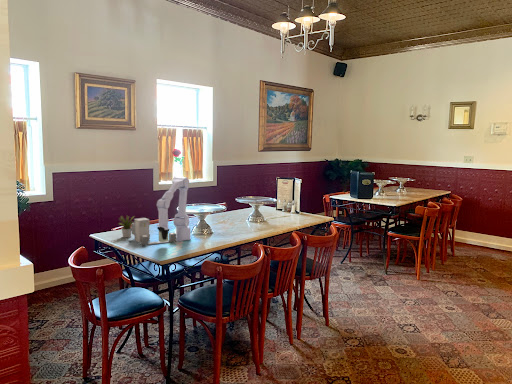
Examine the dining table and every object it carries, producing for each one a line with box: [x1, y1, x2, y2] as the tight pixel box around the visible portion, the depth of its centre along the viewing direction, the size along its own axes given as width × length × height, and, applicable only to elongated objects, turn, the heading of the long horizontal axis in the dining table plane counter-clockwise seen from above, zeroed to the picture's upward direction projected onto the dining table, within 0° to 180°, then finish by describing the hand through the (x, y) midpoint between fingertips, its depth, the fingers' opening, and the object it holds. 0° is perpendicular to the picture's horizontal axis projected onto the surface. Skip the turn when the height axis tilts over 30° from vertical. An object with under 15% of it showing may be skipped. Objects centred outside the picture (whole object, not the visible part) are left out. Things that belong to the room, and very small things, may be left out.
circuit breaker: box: [131, 217, 151, 244], centre depth 268 cm, size 8×14×15 cm, turn 41°
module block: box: [158, 230, 169, 242], centre depth 250 cm, size 5×5×6 cm
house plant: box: [118, 215, 135, 238], centre depth 274 cm, size 14×14×16 cm
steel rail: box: [139, 239, 178, 247], centre depth 260 cm, size 24×4×1 cm, turn 119°
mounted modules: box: [140, 232, 176, 246], centre depth 260 cm, size 22×5×5 cm, turn 119°
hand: (163, 238), depth 250 cm, fingers closed on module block, 4 cm apart
